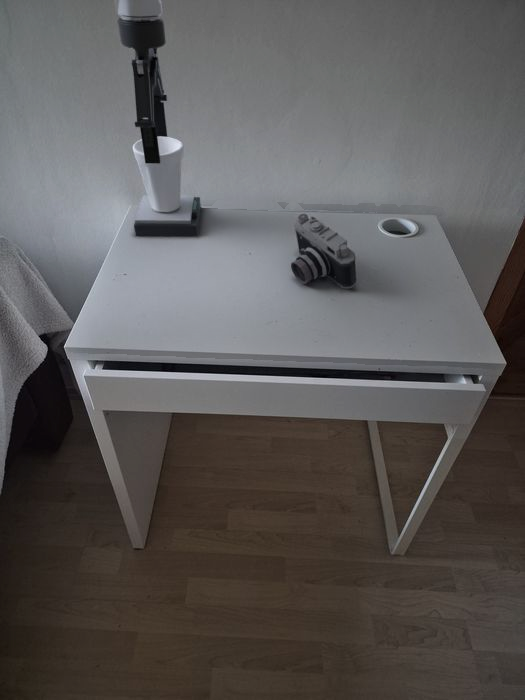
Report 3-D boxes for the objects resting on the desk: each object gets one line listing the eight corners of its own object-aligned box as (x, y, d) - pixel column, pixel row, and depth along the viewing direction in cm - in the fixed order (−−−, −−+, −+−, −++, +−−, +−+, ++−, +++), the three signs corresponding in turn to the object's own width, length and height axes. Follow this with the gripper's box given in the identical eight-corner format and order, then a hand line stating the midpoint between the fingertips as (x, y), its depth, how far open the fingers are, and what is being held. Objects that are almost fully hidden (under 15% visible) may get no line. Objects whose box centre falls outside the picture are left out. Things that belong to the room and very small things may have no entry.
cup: (195, 212, 96) (190, 150, 87) (150, 222, 92) (139, 158, 83) (180, 193, 102) (174, 133, 93) (137, 201, 99) (126, 140, 89)
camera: (275, 266, 91) (266, 227, 83) (308, 245, 92) (302, 205, 85) (324, 308, 82) (319, 269, 74) (360, 283, 83) (358, 242, 76)
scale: (135, 235, 95) (132, 219, 92) (144, 206, 104) (142, 190, 101) (197, 236, 95) (195, 219, 93) (200, 207, 104) (199, 191, 102)
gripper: (154, 32, 65) (170, 175, 80) (170, 6, 83) (180, 127, 97) (101, 30, 64) (127, 175, 79) (129, 5, 82) (146, 127, 97)
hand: (157, 149), depth 88 cm, fingers open, 13 cm apart
